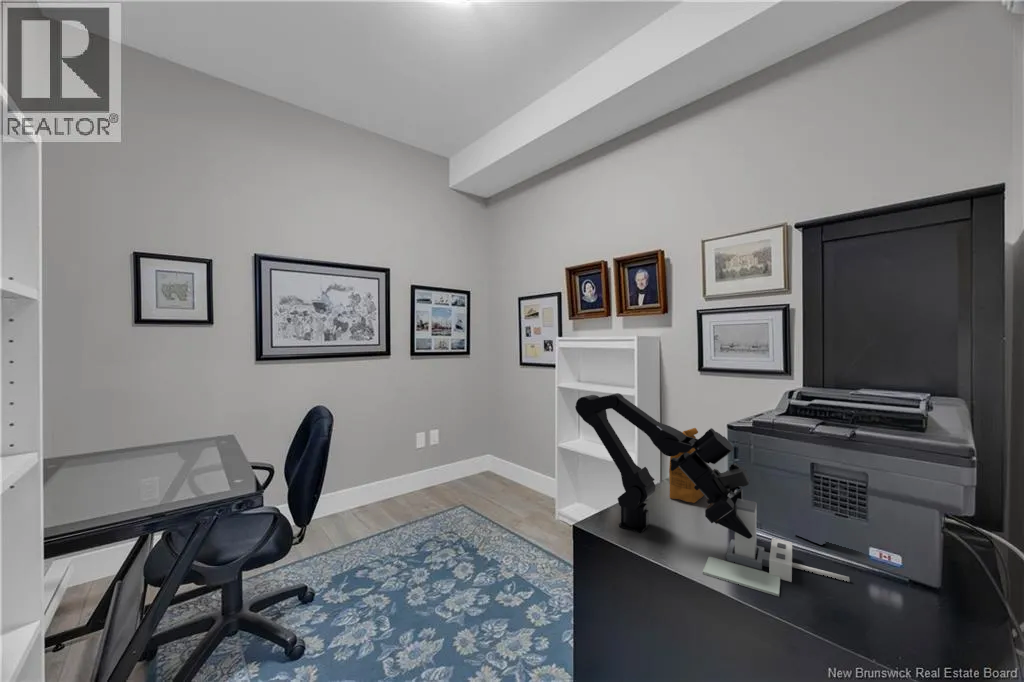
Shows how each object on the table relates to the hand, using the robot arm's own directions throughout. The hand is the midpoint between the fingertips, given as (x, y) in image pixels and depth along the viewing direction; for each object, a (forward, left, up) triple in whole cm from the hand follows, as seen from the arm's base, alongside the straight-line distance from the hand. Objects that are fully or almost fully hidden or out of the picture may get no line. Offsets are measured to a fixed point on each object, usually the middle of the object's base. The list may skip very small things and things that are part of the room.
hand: (752, 530), depth 96 cm
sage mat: (-1, -10, -7) cm, 12 cm away
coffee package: (-20, +31, -7) cm, 38 cm away
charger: (-1, 0, -7) cm, 7 cm away
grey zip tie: (+6, 0, -7) cm, 9 cm away
